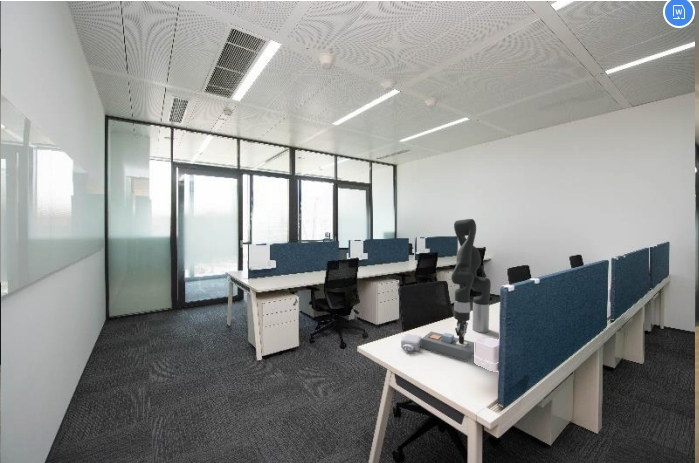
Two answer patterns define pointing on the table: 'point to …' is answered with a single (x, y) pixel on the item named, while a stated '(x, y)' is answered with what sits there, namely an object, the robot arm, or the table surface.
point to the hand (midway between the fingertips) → (461, 343)
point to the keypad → (448, 347)
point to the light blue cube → (448, 338)
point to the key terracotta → (435, 337)
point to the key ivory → (462, 344)
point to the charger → (411, 342)
